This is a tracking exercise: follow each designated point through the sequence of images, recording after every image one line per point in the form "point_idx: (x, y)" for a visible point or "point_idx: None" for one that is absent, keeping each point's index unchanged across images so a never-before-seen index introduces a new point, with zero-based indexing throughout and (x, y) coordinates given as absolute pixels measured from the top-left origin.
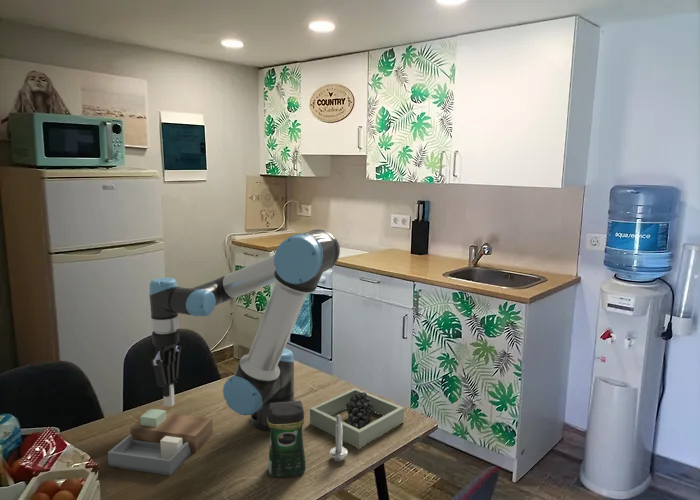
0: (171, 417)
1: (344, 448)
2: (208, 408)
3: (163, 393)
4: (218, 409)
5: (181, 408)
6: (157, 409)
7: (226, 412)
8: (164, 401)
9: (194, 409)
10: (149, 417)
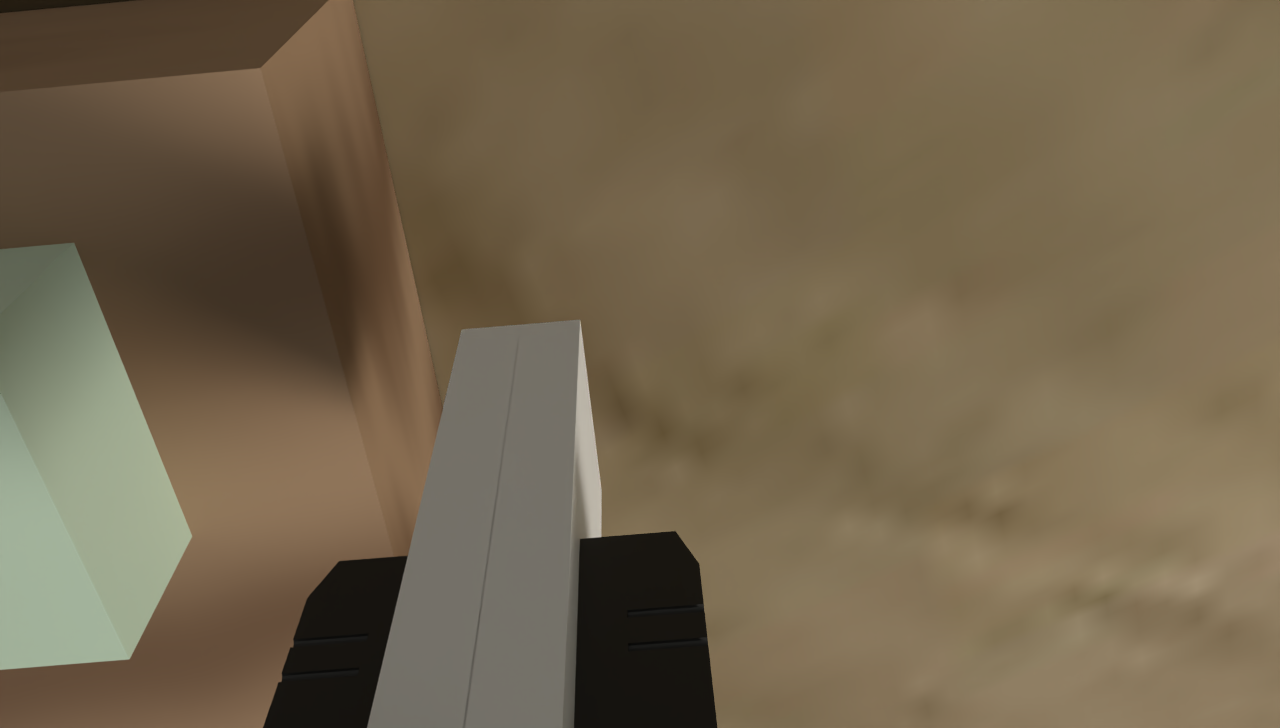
0: (264, 585)
1: None
2: (1144, 456)
3: (294, 659)
4: (1124, 576)
5: (1111, 67)
6: (47, 503)
7: (1050, 683)
8: (453, 405)
9: (1093, 295)
10: None
